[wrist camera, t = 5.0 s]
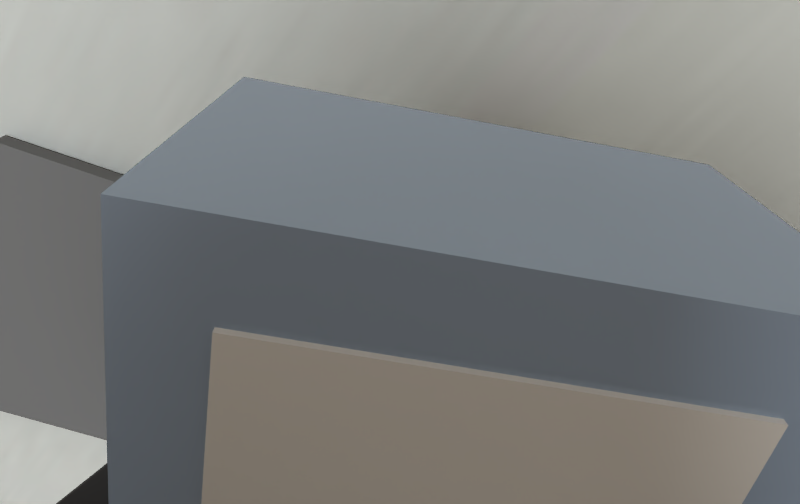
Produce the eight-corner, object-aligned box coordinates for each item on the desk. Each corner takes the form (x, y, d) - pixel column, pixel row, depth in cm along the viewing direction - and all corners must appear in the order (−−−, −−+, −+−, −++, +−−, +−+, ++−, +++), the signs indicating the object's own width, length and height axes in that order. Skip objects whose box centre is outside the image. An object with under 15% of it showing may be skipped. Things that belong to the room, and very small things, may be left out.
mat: (505, 304, 21) (507, 313, 20) (399, 508, 25) (398, 521, 24) (5, 135, 18) (-7, 141, 18) (-20, 391, 23) (-30, 402, 22)
